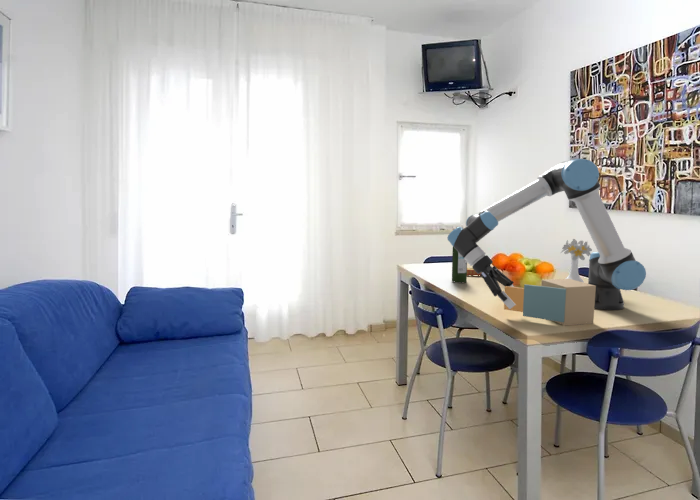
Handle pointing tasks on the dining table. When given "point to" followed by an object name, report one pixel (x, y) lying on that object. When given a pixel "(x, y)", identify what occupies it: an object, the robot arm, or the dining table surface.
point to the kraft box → (575, 300)
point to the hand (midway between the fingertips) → (517, 303)
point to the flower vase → (576, 257)
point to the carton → (472, 272)
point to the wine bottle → (458, 267)
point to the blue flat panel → (538, 301)
